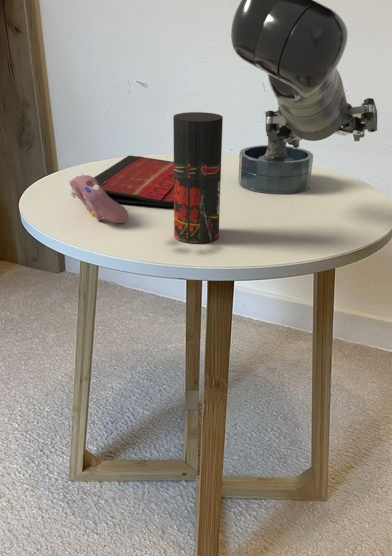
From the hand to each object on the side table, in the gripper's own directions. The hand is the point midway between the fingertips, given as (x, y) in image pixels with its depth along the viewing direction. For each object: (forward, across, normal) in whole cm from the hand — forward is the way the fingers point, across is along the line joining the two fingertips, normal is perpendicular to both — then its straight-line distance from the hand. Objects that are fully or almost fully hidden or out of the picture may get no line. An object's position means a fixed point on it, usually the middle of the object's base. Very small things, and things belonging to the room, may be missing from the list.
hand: (326, 137), depth 86 cm
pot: (+13, +10, +3) cm, 16 cm away
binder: (+4, +29, +4) cm, 29 cm away
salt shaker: (+12, +10, +3) cm, 16 cm away
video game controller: (-11, +31, +11) cm, 35 cm away
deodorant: (-13, +16, +15) cm, 25 cm away
